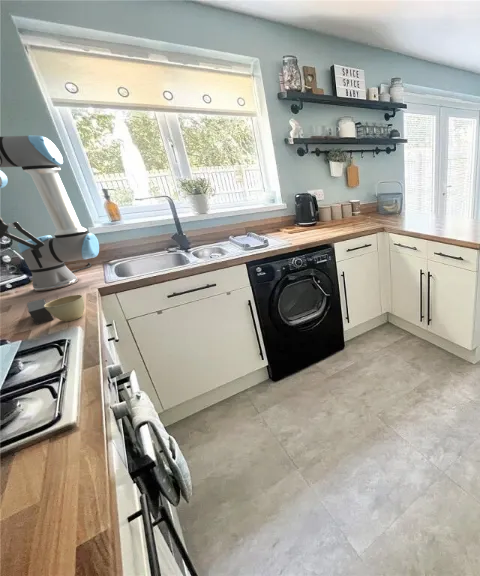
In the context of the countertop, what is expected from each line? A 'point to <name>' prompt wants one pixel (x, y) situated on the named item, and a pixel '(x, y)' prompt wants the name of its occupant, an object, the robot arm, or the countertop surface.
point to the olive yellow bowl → (66, 307)
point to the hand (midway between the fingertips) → (13, 273)
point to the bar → (39, 311)
